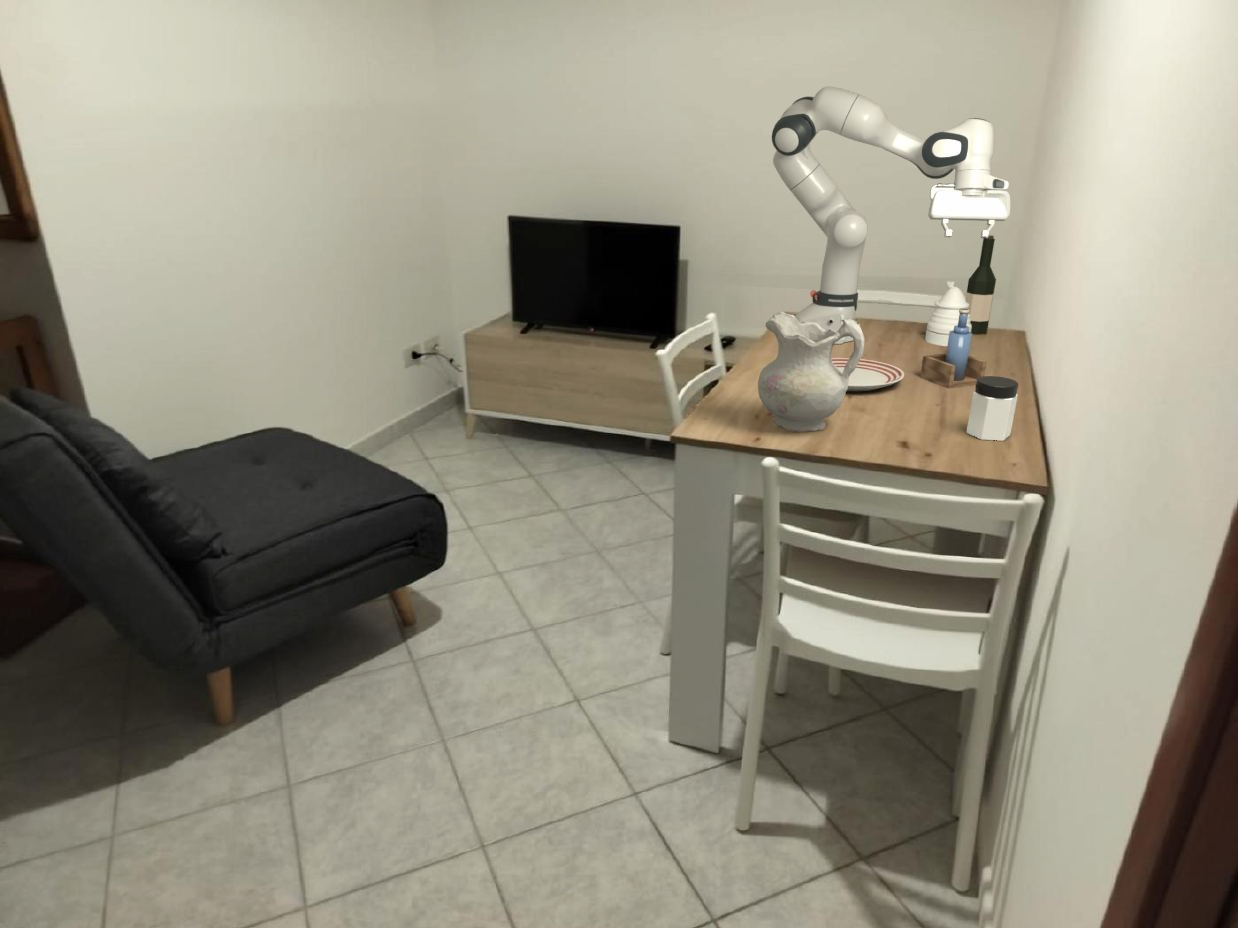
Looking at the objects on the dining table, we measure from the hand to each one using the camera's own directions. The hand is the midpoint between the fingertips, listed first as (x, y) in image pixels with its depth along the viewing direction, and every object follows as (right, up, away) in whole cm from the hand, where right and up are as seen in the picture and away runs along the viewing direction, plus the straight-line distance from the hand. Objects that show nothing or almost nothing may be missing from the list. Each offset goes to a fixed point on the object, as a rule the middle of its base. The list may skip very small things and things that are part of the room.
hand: (966, 237), depth 223 cm
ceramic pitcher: (-52, -52, -37) cm, 82 cm away
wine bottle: (+21, -18, +45) cm, 53 cm away
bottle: (-6, -38, -6) cm, 39 cm away
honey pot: (+8, -23, +33) cm, 41 cm away
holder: (-6, -39, -5) cm, 40 cm away
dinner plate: (-33, -40, -6) cm, 52 cm away
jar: (-13, -55, -43) cm, 71 cm away
